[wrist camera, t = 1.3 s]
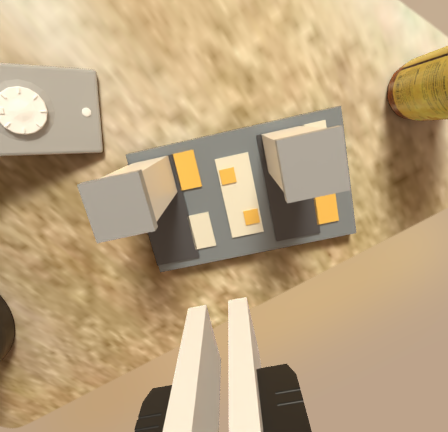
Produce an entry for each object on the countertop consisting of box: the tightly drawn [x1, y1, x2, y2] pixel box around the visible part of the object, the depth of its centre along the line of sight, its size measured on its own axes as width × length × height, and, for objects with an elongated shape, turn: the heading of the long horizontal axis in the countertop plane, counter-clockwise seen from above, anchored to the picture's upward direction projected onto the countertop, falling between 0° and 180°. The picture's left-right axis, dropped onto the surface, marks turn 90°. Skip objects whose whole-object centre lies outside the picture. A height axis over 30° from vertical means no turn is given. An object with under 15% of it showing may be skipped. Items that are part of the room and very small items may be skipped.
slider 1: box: [77, 156, 177, 243], centre depth 30 cm, size 4×4×13 cm
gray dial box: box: [0, 63, 103, 156], centre depth 35 cm, size 8×6×14 cm
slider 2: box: [261, 126, 350, 203], centre depth 29 cm, size 4×4×13 cm
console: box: [126, 106, 356, 272], centre depth 38 cm, size 23×14×2 cm, turn 102°
